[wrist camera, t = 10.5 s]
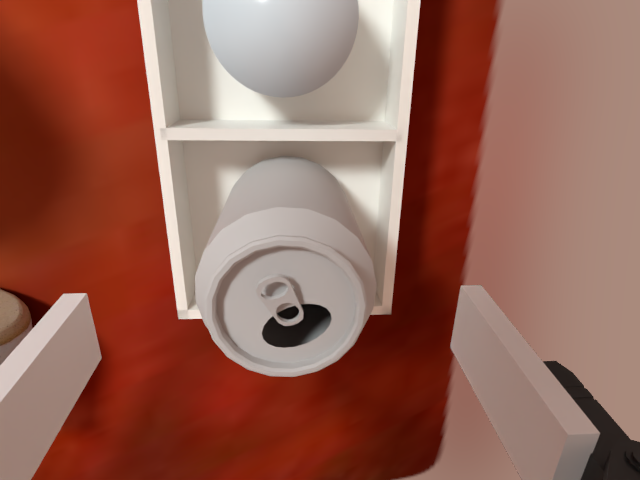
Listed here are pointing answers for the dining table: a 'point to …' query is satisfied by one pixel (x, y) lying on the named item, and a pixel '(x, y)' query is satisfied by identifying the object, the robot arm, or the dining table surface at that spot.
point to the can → (285, 271)
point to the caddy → (278, 130)
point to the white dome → (281, 41)
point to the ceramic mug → (12, 323)
